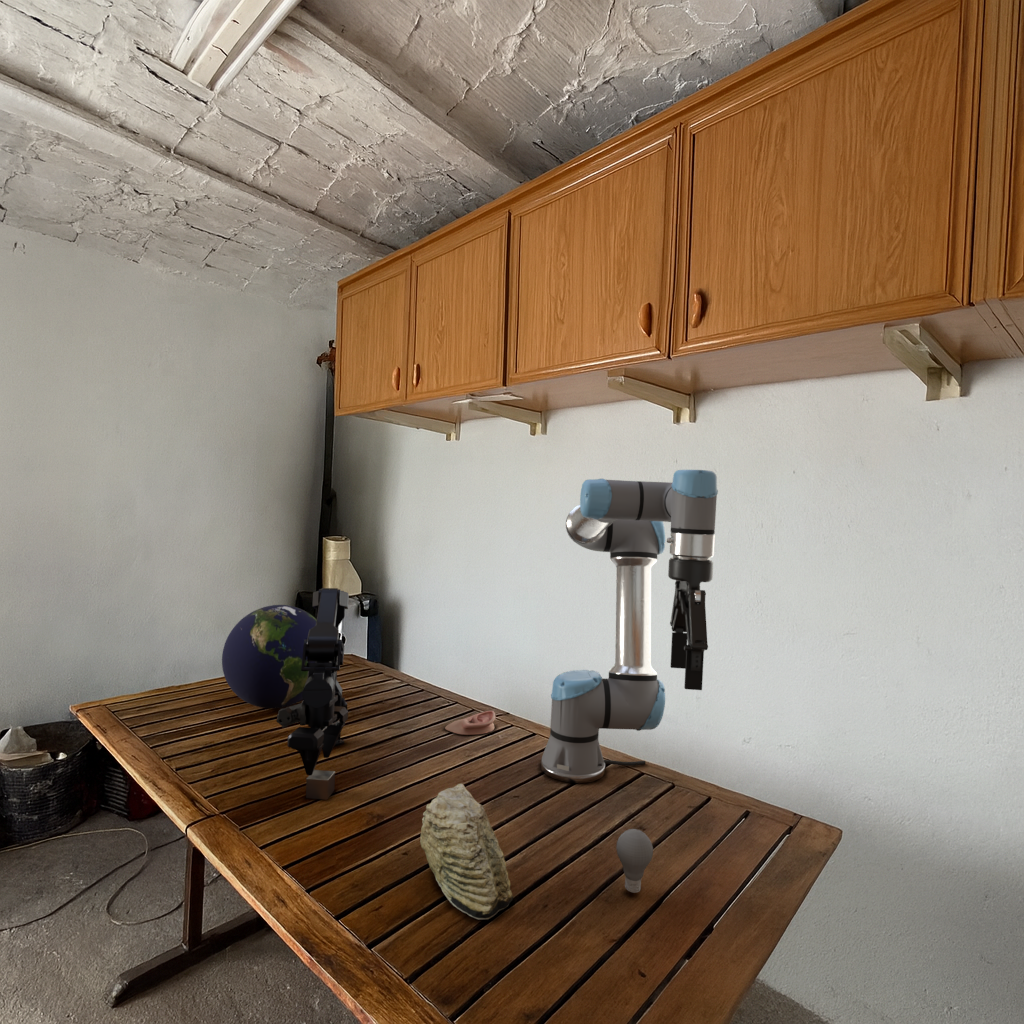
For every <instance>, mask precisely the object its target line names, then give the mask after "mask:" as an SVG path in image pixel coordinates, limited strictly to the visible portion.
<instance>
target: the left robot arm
mask: <svg viewBox="0 0 1024 1024" xmlns="http://www.w3.org/2000/svg"><path fill="white" fill-rule="evenodd" d="M349 596H350V595H349V592H348V591H345V590H341V589H339V588H337V587H321V588H319V589H318V590H317V591H314V592H312V608H313V610H315V619H316V620H317V621H316V626H314V627H313V628H312V629H310V630H309V634H308V638H307V640H304V647H303V656H302V666H301V671H308V679H307V681H306V684H305V686H304V689H303V693H302V696H303V700H301V701H302V702H301V703H300V702H299V703H296V704H293V705H290V706H287V707H282V708H280V709H279V710H278V713H277V714H276V716H277V719H276V721H275V722H276V723H277V724H279V725H280V726H281V728H282V729H285V728H288V726H292V725H294V724H295V725H296V724H299V727H297V728H296V729H295V730H294V731H293V732H291V733H290V734H289V735H288V736H287V743H286V744H287V745H286V746H287V747H288V748H291V749H292V750H295V751H297V752H298V753H299V755H300V758H301V761H302V764H303V767H304V771H305V775H306V776H309V775H310V776H311V775H312V774H313V771H314V770H316V766H317V764H318V761H319V758H320V755H321V753H322V754H323V758H324V759H328V758H330V756H331V754H332V752H333V749H334V747H336V746H340V745H343V744H344V743H345V741H344V740H343V739H341V737H342V735H341V733H342V730H343V728H344V727H345V726H346V721H348V719H349V710H348V703H347V702H346V698H345V697H343V688H342V686H341V685H340V683H339V681H338V672H340V669H341V666H344V657H345V656H344V654H345V644H344V643H343V640H342V639H339V638H340V637H339V636H340V634H339V633H340V630H339V627H340V625H341V624H342V622H343V620H344V619H345V616H346V610H348V609H349V601H350V600H349V599H350V597H349ZM306 657H307V661H308V662H311V663H307V665H305V664H306ZM301 726H302V727H301ZM303 726H304V727H303ZM305 726H307V727H305Z"/></svg>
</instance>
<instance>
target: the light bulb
mask: <svg viewBox="0 0 1024 1024" xmlns="http://www.w3.org/2000/svg"><path fill="white" fill-rule="evenodd" d="M615 849H616V854H617V857H618V859H619V861H620V863H621V865H622V867H623V873H624V874H623V875H624V876H625V878H624V888H625V890H627V891H628V892H630V893H634V894H635V893H639V892H640V891H641V889H642V887H641V886H642V879H643V877H644V875H645V871H646V868H647V867H648V866H649V864H650V863H651V861H652V859H653V855H654V847H653V843H652V841H651V838H649V836H648V835H647V834H646V833H645V832H643V831H642V830H641V829H636V828H629V829H627V830H625V831H623V832H622V833H621V834H620V835H619V837H618V839H617V841H616V847H615Z"/></svg>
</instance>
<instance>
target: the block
mask: <svg viewBox="0 0 1024 1024" xmlns="http://www.w3.org/2000/svg"><path fill="white" fill-rule="evenodd" d="M335 782H336V771H334V770H325V769H324V770H321V769H314V771H313V774H312V775H311V776H310V775H307V777H306V782H305V783H306V784H305V785H306V786H305V799H311V800H323V801H324V800H325V801H327V800H328V799H329V798H330V797H331V796H332V794H333V793H334V791H335V784H336V783H335Z"/></svg>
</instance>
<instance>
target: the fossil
mask: <svg viewBox="0 0 1024 1024" xmlns="http://www.w3.org/2000/svg"><path fill="white" fill-rule="evenodd" d="M422 816H423V817H422V818H421V821H422V825H421V827H420V828H421V829H420V837H419V838H420V841H419V843H420V847H421V849H422V850H423V851H424V853H425V856H426V860H427V862H428V863H427V864H428V866H429V868H430V870H431V872H432V873H433V874H434V877H435V881H436V882H437V884H438V886H439V887H440V889H441V891H442V893H443V895H444V896H445V897H446V899H447V900H448V901H449V903H450V904H451V905H452V906H453V907H455V908H456V909H457V910H459V911H461V912H462V913H464V914H467V915H468V917H471V918H473V919H476V920H479V921H480V920H489V919H491V918H493V917H494V916H495V915H497V914H498V912H500V911H503V910H504V909H506V908H507V907H509V905H510V904H511V902H512V901H513V900H514V897H513V893H512V890H511V881H510V879H509V872H508V869H507V862H506V860H505V855H504V852H503V849H501V846H500V844H499V839H498V838H497V836H496V833H495V831H494V829H493V827H492V825H491V823H490V820H489V817H488V815H487V812H486V810H485V806H483V805H482V804H480V803H479V802H478V801H477V800H476V799H475V798H474V796H473V795H472V794H471V792H470V791H469V790H468V789H467V788H466V787H465V785H464V783H457V785H455V786H453V787H448V788H445V789H444V790H441V791H439V792H438V794H437V796H436V797H435V798H433V799H432V800H431V802H430V803H427V804H426V807H425V811H424V812H423V813H422Z"/></svg>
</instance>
